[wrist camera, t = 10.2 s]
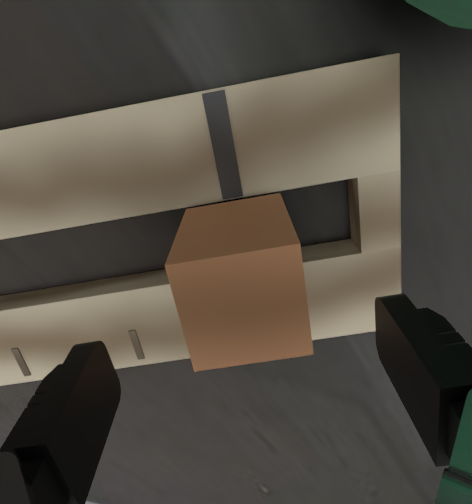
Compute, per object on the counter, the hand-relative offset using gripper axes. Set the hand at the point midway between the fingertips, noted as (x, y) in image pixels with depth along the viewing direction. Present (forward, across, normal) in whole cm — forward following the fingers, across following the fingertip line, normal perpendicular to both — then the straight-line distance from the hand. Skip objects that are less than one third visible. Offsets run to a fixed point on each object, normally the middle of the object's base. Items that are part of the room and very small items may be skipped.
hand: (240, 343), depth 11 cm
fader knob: (+11, 0, 0) cm, 11 cm away
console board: (+11, +7, 0) cm, 13 cm away
